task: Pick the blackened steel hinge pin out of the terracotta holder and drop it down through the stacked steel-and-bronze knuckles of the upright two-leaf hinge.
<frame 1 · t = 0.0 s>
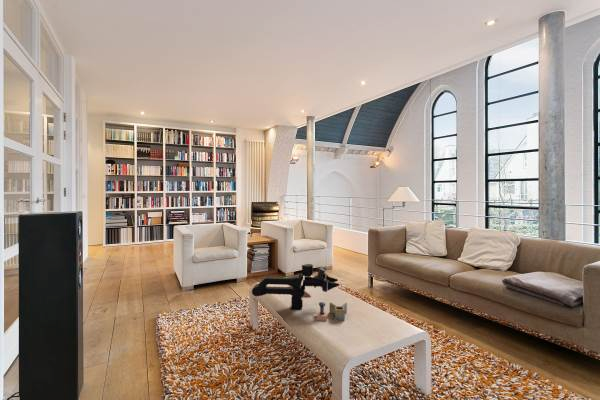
hand: (338, 282, 186), 17 cm above the table, tool horizontal, fingers open, 9 cm apart
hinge: (339, 318, 173), on the table
pin holder: (321, 318, 173), on the table
hinge pin: (321, 310, 173), in the pin holder
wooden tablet: (298, 292, 218), on the table
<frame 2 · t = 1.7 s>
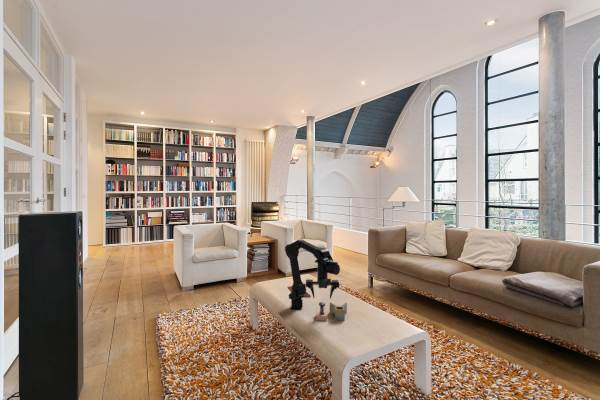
hand: (322, 298, 173), 11 cm above the table, tool pointing down, fingers open, 9 cm apart
nothing on the table moved.
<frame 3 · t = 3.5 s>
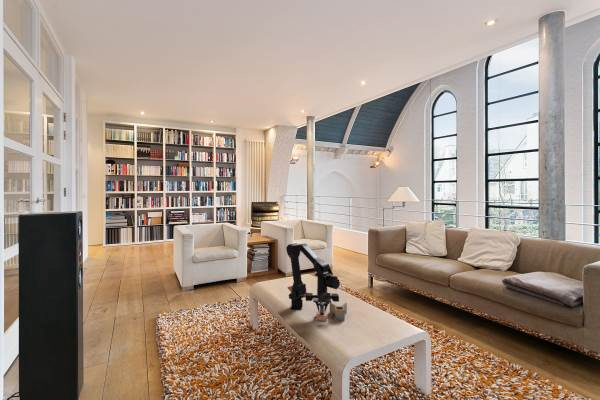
hand: (321, 312, 173), 4 cm above the table, tool pointing down, fingers closed on hinge pin, 3 cm apart
hinge pin: (321, 310, 173), in the pin holder, touching gripper
everything else where it was.
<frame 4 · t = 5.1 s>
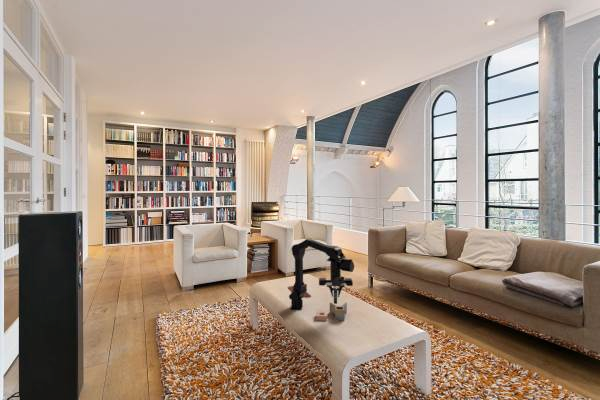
hand: (335, 296, 172), 13 cm above the table, tool pointing down, fingers closed on hinge pin, 3 cm apart
hinge pin: (335, 295, 172), point 13 cm above the table, touching gripper
everything else where it was.
when the fingers open (7 cm above the table, at t = 6.9 s): hinge pin drops 4 cm, resting in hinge.
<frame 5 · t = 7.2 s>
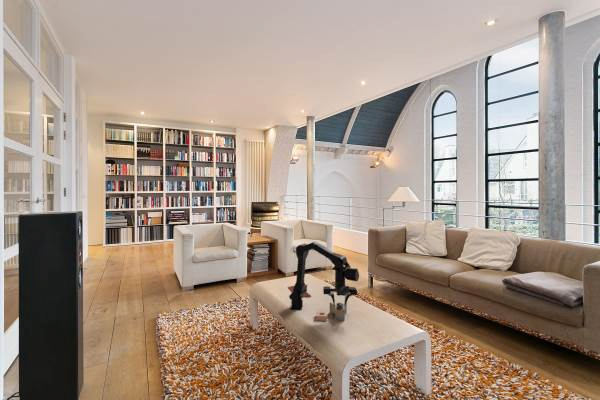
hand: (339, 305, 173), 7 cm above the table, tool pointing down, fingers open, 6 cm apart
hinge pin: (339, 311, 173), in the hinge
everything else where it was.
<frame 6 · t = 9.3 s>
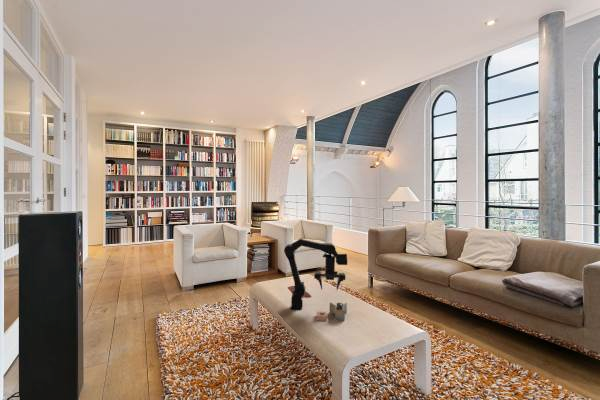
hand: (329, 289, 187), 12 cm above the table, tool pointing down, fingers open, 9 cm apart
nothing on the table moved.
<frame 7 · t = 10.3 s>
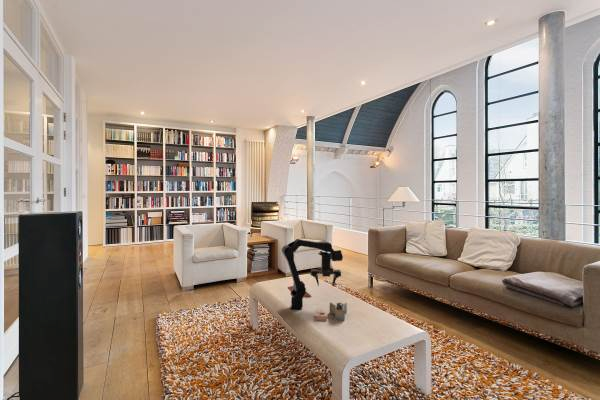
hand: (325, 286, 193), 12 cm above the table, tool pointing down, fingers open, 9 cm apart
nothing on the table moved.
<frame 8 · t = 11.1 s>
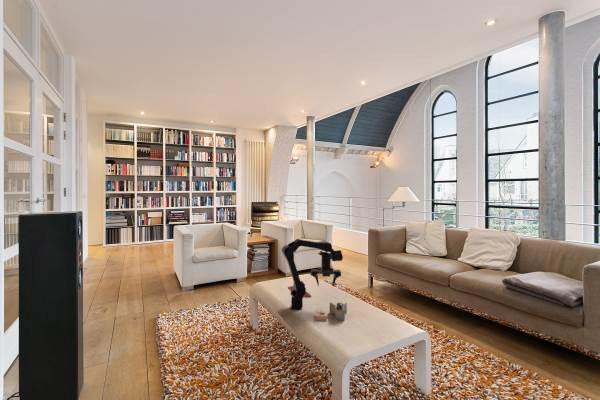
hand: (325, 286, 193), 12 cm above the table, tool pointing down, fingers open, 9 cm apart
nothing on the table moved.
at the end: hinge pin 0.1 cm off-centre on the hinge, point 4.3 cm above the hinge's base; hinge pin tilted 1°; the gripper is holding nothing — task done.
